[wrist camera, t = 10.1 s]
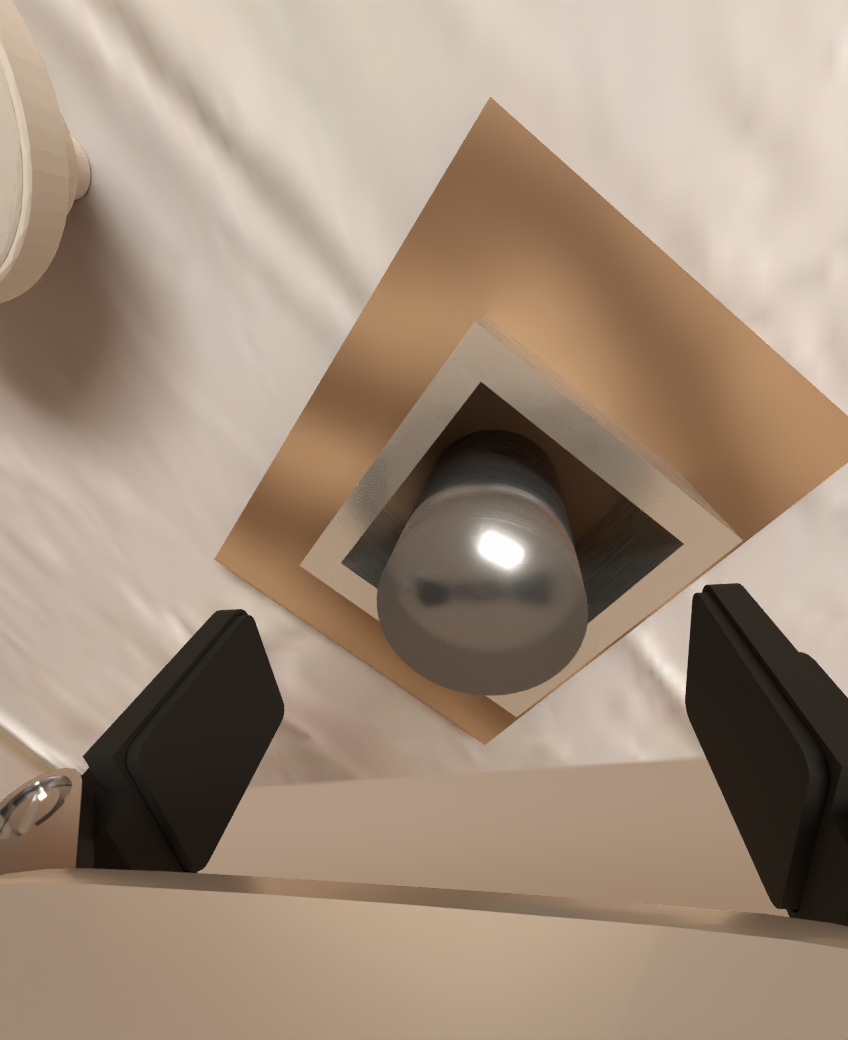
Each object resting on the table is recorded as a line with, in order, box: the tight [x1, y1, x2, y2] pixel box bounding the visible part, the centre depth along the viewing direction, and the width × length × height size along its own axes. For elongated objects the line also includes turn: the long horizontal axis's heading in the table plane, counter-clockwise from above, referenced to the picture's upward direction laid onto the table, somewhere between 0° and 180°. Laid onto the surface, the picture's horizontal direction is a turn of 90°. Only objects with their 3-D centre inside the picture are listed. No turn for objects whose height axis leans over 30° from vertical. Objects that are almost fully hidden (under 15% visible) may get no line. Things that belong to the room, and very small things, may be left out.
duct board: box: [214, 97, 848, 744], centre depth 17 cm, size 20×16×6 cm
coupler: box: [377, 430, 588, 696], centre depth 15 cm, size 5×5×8 cm
